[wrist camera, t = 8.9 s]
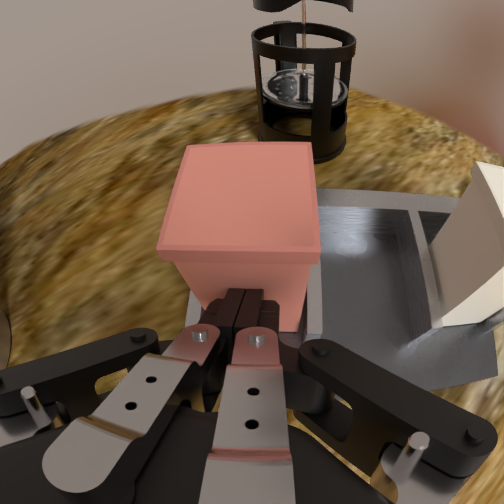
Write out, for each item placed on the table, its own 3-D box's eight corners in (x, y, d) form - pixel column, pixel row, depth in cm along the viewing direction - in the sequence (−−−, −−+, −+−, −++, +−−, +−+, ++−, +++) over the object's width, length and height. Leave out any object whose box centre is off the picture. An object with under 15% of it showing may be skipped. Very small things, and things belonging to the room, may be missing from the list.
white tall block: (482, 324, 16) (572, 256, 8) (425, 330, 17) (517, 255, 8) (468, 260, 19) (535, 176, 10) (414, 260, 19) (475, 161, 11)
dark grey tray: (486, 378, 15) (522, 366, 11) (194, 394, 18) (171, 388, 14) (456, 227, 22) (477, 196, 19) (217, 220, 25) (206, 183, 21)
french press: (363, 161, 27) (394, -68, 7) (274, 177, 27) (253, -87, 7) (319, 103, 33) (320, -69, 14) (246, 113, 33) (222, -69, 13)
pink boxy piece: (300, 334, 18) (320, 252, 9) (214, 331, 18) (155, 249, 10) (300, 258, 20) (311, 142, 12) (223, 257, 21) (187, 145, 12)
